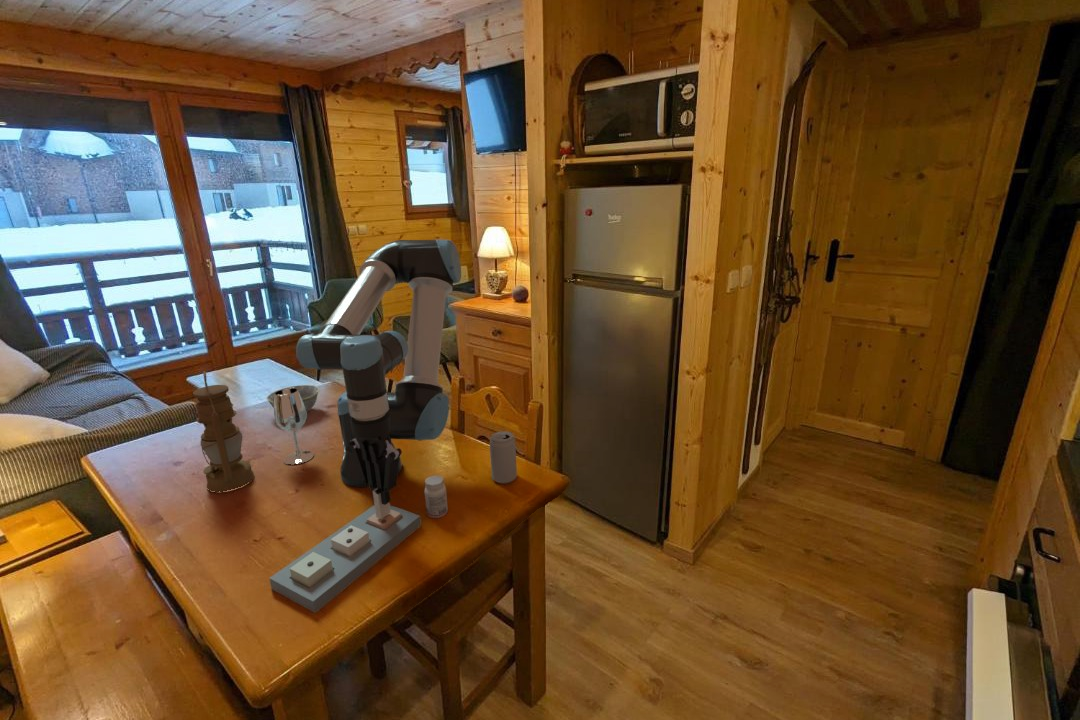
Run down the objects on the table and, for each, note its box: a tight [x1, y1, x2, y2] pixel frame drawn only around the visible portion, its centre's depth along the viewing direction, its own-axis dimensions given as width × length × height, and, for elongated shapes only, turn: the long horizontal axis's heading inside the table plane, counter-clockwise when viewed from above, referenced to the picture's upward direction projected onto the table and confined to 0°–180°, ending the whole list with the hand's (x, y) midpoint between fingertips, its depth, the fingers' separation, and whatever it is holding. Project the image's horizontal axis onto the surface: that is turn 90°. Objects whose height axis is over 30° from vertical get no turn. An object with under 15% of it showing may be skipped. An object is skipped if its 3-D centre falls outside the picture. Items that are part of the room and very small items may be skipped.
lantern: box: [192, 370, 255, 492], centre depth 122 cm, size 15×10×30 cm
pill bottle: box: [424, 474, 449, 519], centre depth 111 cm, size 5×5×8 cm
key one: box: [289, 552, 333, 588], centre depth 91 cm, size 5×5×3 cm
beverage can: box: [489, 430, 518, 485], centre depth 123 cm, size 6×6×12 cm
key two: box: [331, 525, 370, 557], centre depth 98 cm, size 5×5×3 cm
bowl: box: [266, 384, 320, 414], centre depth 166 cm, size 16×16×8 cm
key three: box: [367, 509, 401, 531], centre depth 106 cm, size 5×5×3 cm
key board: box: [268, 504, 422, 614], centre depth 99 cm, size 27×12×2 cm, turn 151°
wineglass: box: [273, 387, 314, 466], centre depth 134 cm, size 8×8×20 cm
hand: (383, 514), depth 105 cm, fingers closed
